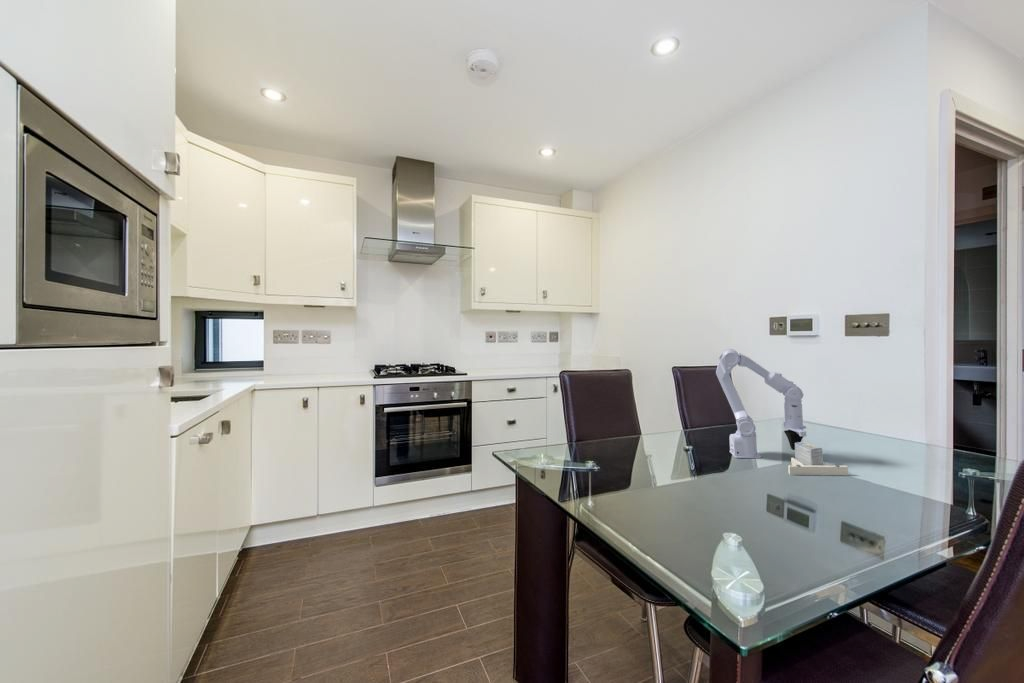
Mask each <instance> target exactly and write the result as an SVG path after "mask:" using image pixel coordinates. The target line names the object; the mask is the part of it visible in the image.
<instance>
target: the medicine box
mask: <svg viewBox="0 0 1024 683" xmlns="http://www.w3.org/2000/svg"><path fill="white" fill-rule="evenodd" d="M794 452H795V453H794V454H795V456H794V458H795V459H796V460H797V461H799V462H800V463H802V464H803V465H820V466H823V463H824V460H823V459H824V458H823V457H824V456H823V448H822V447H820V446H818V445H815V444H813V443H811V442H807V441H801V442H798V443H795V450H794Z"/></svg>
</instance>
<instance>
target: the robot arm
mask: <svg viewBox="0 0 1024 683" xmlns="http://www.w3.org/2000/svg"><path fill="white" fill-rule="evenodd" d="M716 366H717V367H716V370H715V375H716V377H717V380H718V382H719V384H720V386H721V388H722V391H723V392H724V395H725V396H726V399H727V401H728V404H729V406H730V407H731V408H730V409H731V411H732V413H733V415H734V418H735V424H736V427H737V430H736V431H735V433H731V434H729V437H728V438H729V453H730V454H732V456H733V457H734V458H737V459H761V458H762V456H761V455H760V454H759V453H758V448H757V447H758V444H757V443H758V442H757V433H756V425H755V424H754V420H753V418H752V417H751V416H749V415H748V413H747V411H746V409H745V406H744V404H743V403H742V400H741V397H740V396H739V393H738V391H737V388H736V386H735V385H734V383H733V379H732V378H731V376H730V374H731V373H732V370H733V369H734V368H735V367H736V366H738V367H742V368H743V367H744V368H747V369H749V370H751V372H754V373H755V374H757V375H759V376H760V377H761V378H763V379H764V383H765V384H766V385H768V386H769V387H771V388H772V389H774V390H775V391H776V392H778V393H780V394H782V395H783V396H784V403H783V405H784V421H782V427H783V428H784V429H786V430H783V432H784V434H785V435H786V437H787V439H788V442H789V443H788V444H789V446H790V450H792V451H795V443H798V442H802V440H803V439H804V437H807V431H806V430H805V429H807V426H806V425H804V424H803V422H804V421H803V420H804V418H803V404H802V402H803V401H802V399H803V398H804V393H803V390H802V389H801V388H800V387H799V386H798V385H797V384H796V383H794V382H793V381H792V380H788V379H787V378H786V377H784V376H783V374H782V373H780V372H778V373H777V372H776V371H771V372H770V371H768V370H767V369H765V368H764V367H763V366H762V365H760V364H759V363H757V362H756V361H754V360H752V359H751V358H750V357H748V356H747V355H745V354H742V353H740V352H737V351H736V350H735V349H733V348H726V349H724V351H722V353H721V355H720V356H719V357H718V362H717V365H716Z"/></svg>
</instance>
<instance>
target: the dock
mask: <svg viewBox="0 0 1024 683" xmlns="http://www.w3.org/2000/svg"><path fill="white" fill-rule="evenodd" d="M790 459H791V461H790V463H791V465H790V464H789V465H788V466H787V468H788V471H787V472H788V474H789V475H790V476H849V466H848V465H838V464H834V465H827V464H826V463H824V462H823V466H820V465H803V464H802V463H800V462H799V461H797V460H796V459H795V457H790Z"/></svg>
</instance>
